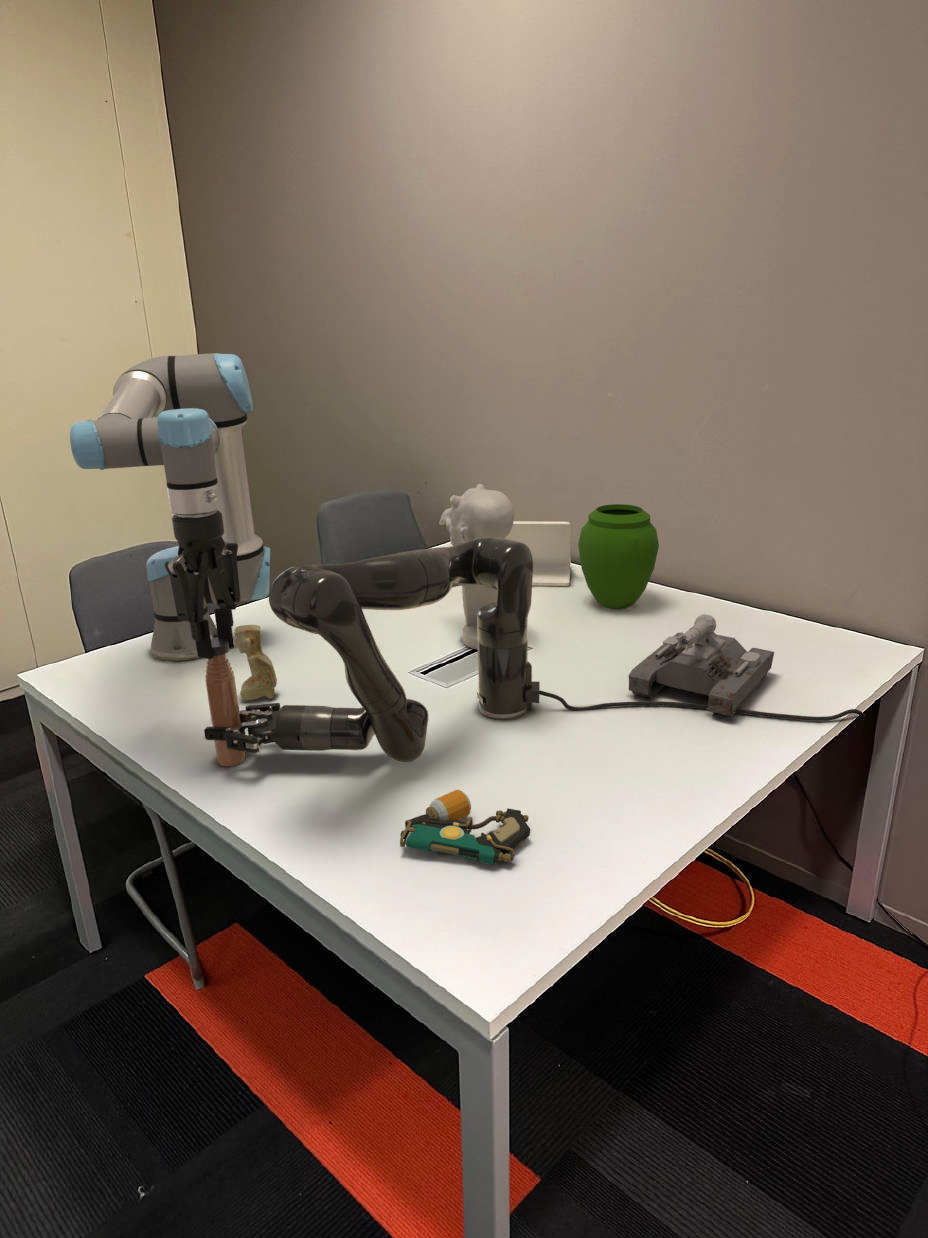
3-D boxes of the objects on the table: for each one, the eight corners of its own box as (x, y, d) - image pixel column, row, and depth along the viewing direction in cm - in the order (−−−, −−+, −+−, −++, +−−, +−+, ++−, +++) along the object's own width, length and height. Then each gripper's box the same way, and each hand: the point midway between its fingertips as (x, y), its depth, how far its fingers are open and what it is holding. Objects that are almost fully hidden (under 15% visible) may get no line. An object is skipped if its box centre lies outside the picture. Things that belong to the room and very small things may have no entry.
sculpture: (243, 691, 172) (234, 622, 167) (279, 689, 173) (271, 620, 168) (239, 704, 167) (229, 633, 162) (276, 701, 168) (268, 630, 162)
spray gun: (542, 834, 125) (490, 895, 113) (446, 797, 133) (389, 850, 122) (543, 810, 123) (491, 869, 112) (446, 774, 131) (388, 826, 120)
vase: (599, 587, 227) (601, 497, 218) (668, 600, 216) (673, 505, 208) (562, 608, 212) (564, 513, 204) (634, 623, 202) (639, 523, 193)
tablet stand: (569, 585, 229) (570, 524, 223) (476, 584, 232) (475, 523, 226) (570, 566, 246) (571, 508, 240) (484, 564, 249) (483, 507, 243)
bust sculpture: (484, 611, 212) (481, 471, 200) (536, 643, 192) (537, 489, 180) (426, 624, 205) (419, 479, 193) (474, 658, 185) (470, 499, 173)
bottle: (223, 752, 150) (207, 641, 142) (249, 753, 149) (234, 642, 142) (213, 766, 145) (195, 652, 138) (239, 767, 145) (223, 653, 137)
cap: (228, 644, 143) (226, 636, 142) (230, 654, 139) (229, 645, 138) (202, 648, 141) (200, 640, 141) (203, 658, 138) (202, 649, 137)
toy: (678, 653, 184) (682, 588, 179) (772, 674, 173) (779, 604, 168) (627, 697, 165) (630, 625, 160) (729, 723, 154) (736, 646, 149)
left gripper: (170, 527, 123) (193, 675, 131) (253, 502, 137) (269, 638, 145) (135, 522, 127) (159, 666, 135) (219, 498, 140) (236, 631, 149)
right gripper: (318, 689, 149) (223, 687, 150) (294, 728, 135) (191, 725, 137) (321, 727, 151) (228, 725, 153) (299, 769, 138) (197, 766, 140)
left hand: (216, 651), depth 140 cm, fingers closed on cap, 4 cm apart
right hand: (211, 725), depth 145 cm, fingers closed on bottle, 4 cm apart
